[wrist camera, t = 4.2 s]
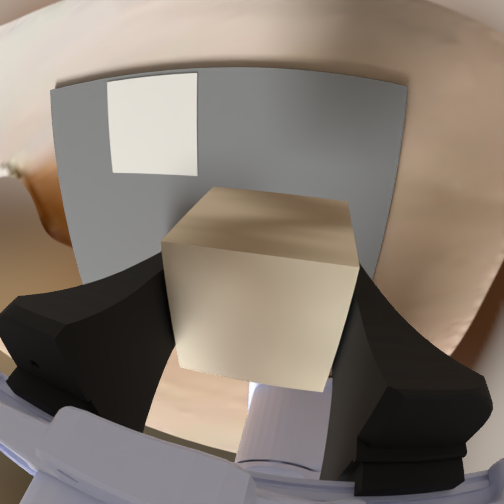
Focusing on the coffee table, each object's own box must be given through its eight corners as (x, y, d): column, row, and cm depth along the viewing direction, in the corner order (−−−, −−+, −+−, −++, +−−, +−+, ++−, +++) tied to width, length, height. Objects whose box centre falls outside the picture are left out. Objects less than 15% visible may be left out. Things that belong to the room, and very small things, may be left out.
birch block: (347, 201, 11) (359, 267, 7) (326, 309, 14) (322, 392, 10) (212, 186, 12) (160, 241, 8) (215, 293, 14) (180, 367, 11)
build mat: (405, 86, 14) (408, 86, 14) (354, 333, 23) (354, 338, 23) (54, 89, 18) (49, 90, 18) (87, 286, 27) (83, 290, 27)
